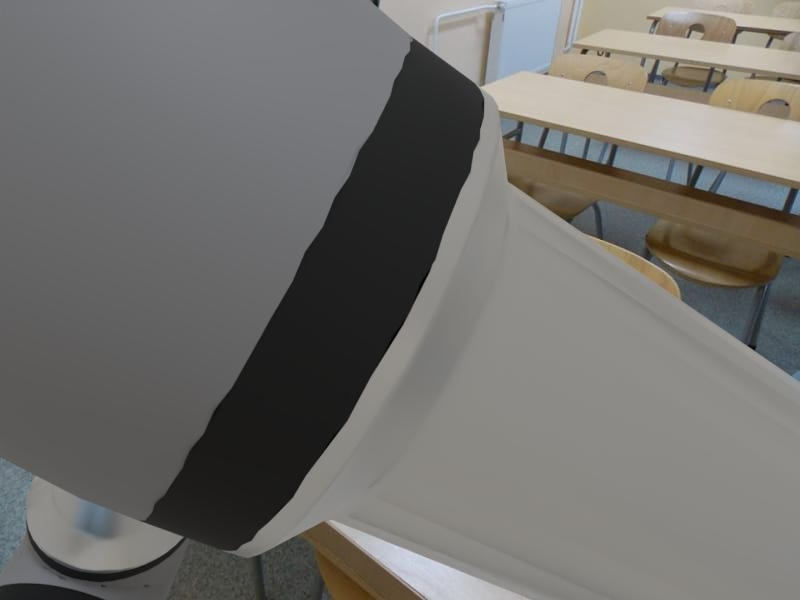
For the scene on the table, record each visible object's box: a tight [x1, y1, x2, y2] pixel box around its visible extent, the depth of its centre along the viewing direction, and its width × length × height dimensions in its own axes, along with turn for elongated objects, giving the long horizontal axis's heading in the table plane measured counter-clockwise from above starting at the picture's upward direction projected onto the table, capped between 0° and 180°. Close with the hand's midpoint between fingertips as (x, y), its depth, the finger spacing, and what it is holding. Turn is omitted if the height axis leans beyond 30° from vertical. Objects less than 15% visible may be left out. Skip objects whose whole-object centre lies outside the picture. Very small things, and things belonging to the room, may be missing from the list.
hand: (460, 290), depth 57 cm, fingers closed on stirring stick, 2 cm apart
